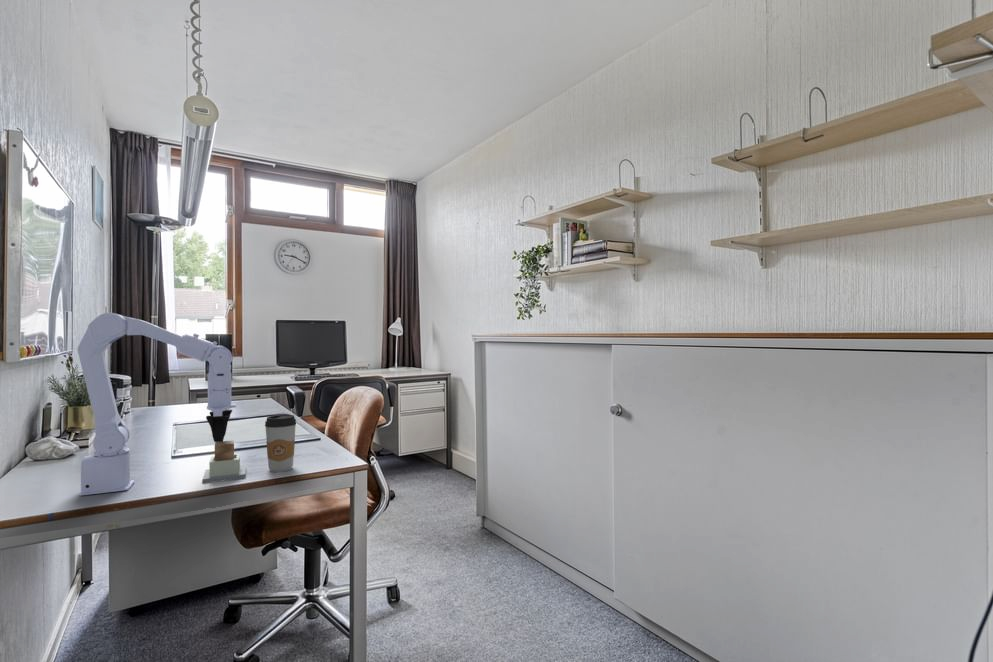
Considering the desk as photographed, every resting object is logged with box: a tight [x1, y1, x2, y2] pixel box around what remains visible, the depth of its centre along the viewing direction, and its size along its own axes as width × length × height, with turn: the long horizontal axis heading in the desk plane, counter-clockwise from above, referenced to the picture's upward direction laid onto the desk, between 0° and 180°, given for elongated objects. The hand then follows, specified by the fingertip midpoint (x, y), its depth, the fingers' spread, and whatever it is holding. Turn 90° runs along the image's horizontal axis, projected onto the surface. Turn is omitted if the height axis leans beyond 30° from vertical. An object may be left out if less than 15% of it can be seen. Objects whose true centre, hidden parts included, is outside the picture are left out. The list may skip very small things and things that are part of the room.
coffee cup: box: [264, 414, 297, 473], centre depth 142 cm, size 8×8×15 cm
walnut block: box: [214, 439, 235, 461], centre depth 136 cm, size 4×4×5 cm
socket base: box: [201, 453, 247, 484], centre depth 136 cm, size 10×10×5 cm
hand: (219, 438), depth 137 cm, fingers open, 7 cm apart
